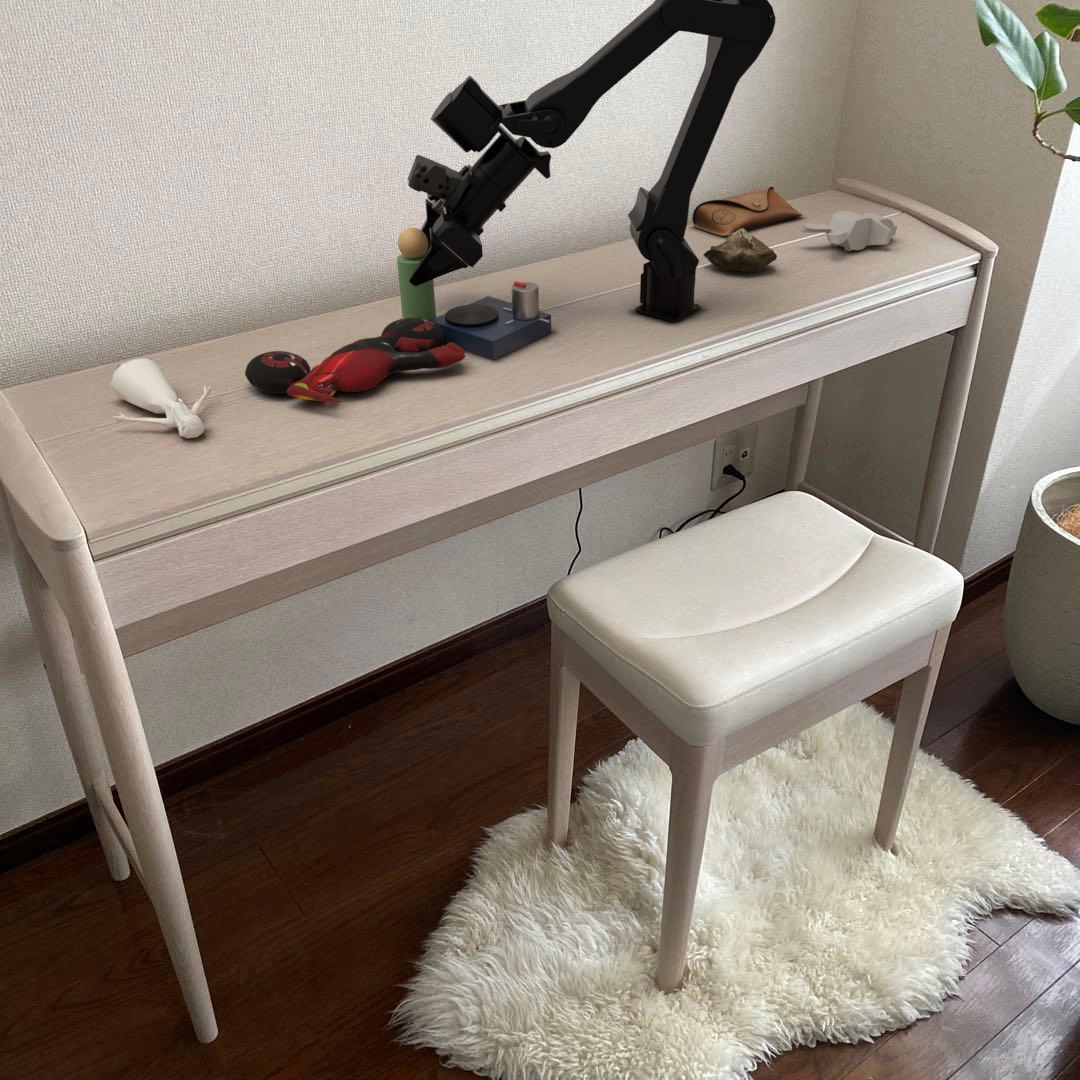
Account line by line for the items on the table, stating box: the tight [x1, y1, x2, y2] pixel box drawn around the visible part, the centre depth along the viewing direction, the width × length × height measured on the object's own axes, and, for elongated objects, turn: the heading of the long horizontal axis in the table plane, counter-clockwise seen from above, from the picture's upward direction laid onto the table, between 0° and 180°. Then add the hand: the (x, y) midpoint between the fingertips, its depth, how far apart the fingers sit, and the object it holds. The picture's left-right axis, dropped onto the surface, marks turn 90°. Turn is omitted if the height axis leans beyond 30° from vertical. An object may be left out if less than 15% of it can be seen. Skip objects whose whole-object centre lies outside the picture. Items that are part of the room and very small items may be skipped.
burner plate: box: [445, 304, 499, 328], centre depth 135 cm, size 7×7×1 cm
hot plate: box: [431, 295, 552, 361], centre depth 136 cm, size 12×12×3 cm
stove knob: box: [511, 280, 540, 320], centre depth 134 cm, size 3×3×4 cm
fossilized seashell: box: [703, 228, 778, 273], centre depth 154 cm, size 8×7×10 cm
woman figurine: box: [110, 357, 212, 440], centre depth 118 cm, size 12×4×18 cm
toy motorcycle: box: [244, 317, 466, 403], centre depth 125 cm, size 25×5×16 cm
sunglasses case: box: [692, 186, 803, 237], centre depth 174 cm, size 18×7×7 cm
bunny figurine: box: [799, 210, 898, 252], centre depth 162 cm, size 10×5×15 cm
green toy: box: [396, 227, 437, 320], centre depth 136 cm, size 4×4×13 cm
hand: (410, 271), depth 135 cm, fingers open, 9 cm apart
